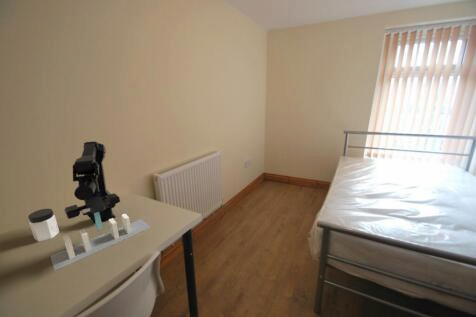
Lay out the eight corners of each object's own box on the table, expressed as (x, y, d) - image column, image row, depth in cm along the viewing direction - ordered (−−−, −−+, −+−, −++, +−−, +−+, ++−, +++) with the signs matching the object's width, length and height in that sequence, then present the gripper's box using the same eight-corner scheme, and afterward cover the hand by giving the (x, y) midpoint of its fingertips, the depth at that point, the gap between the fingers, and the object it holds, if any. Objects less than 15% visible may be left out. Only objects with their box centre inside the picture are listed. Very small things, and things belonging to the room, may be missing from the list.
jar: (48, 241, 94) (41, 218, 90) (29, 242, 93) (21, 218, 90) (63, 229, 102) (57, 207, 99) (46, 229, 102) (39, 208, 98)
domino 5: (127, 233, 99) (125, 219, 96) (123, 229, 102) (121, 214, 100) (131, 232, 100) (129, 217, 98) (127, 227, 103) (125, 213, 101)
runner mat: (50, 256, 85) (50, 255, 85) (141, 219, 111) (141, 218, 111) (54, 271, 78) (54, 270, 78) (151, 227, 104) (151, 227, 104)
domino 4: (115, 239, 95) (112, 224, 93) (111, 234, 98) (108, 219, 96) (119, 237, 96) (116, 222, 94) (115, 232, 99) (112, 218, 97)
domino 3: (98, 230, 89) (94, 213, 87) (94, 226, 92) (91, 209, 90) (102, 228, 90) (99, 211, 88) (99, 224, 93) (95, 208, 91)
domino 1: (69, 259, 83) (65, 242, 81) (67, 253, 87) (62, 236, 84) (75, 256, 85) (70, 240, 82) (72, 250, 88) (68, 234, 86)
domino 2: (86, 251, 87) (82, 235, 85) (83, 246, 90) (79, 230, 88) (91, 249, 88) (87, 233, 86) (88, 244, 92) (84, 228, 89)
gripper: (65, 204, 74) (75, 241, 79) (122, 188, 87) (127, 220, 92) (60, 194, 81) (69, 229, 86) (112, 181, 95) (118, 211, 99)
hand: (97, 222), depth 91 cm, fingers closed on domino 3, 2 cm apart
